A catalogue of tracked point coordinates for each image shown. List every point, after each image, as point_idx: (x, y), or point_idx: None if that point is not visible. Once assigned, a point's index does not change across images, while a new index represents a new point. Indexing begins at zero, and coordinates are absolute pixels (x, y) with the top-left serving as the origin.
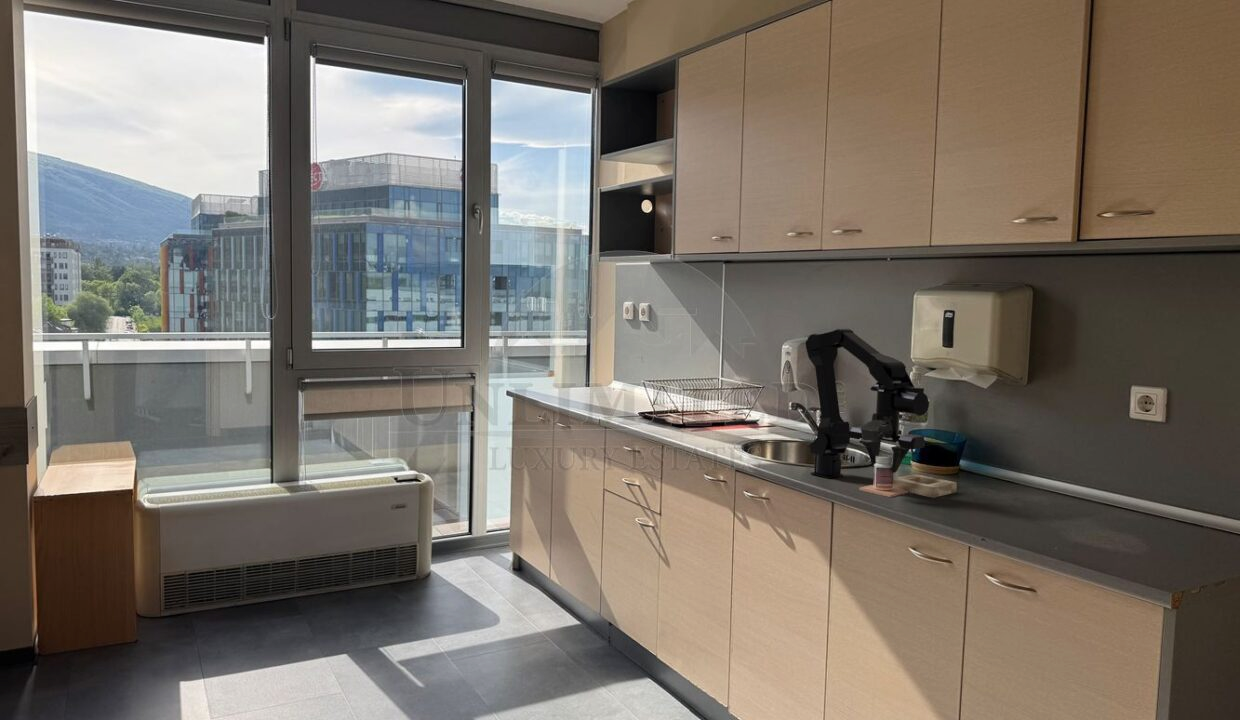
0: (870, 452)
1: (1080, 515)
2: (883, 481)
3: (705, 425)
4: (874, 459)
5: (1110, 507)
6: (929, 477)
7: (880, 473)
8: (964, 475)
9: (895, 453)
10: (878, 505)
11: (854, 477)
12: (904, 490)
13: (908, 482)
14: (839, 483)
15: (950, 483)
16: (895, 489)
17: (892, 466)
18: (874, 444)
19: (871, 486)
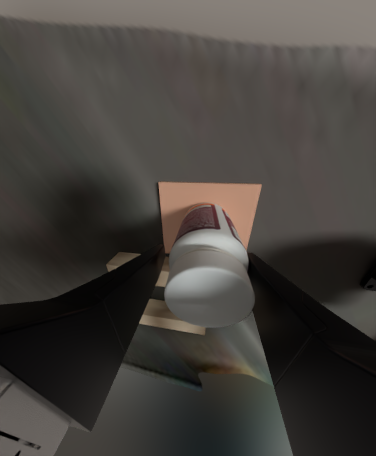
0: (306, 308)
1: (6, 295)
2: (191, 214)
3: None
4: (259, 282)
5: None
6: (171, 326)
7: (199, 220)
8: (188, 372)
9: (79, 301)
10: (105, 32)
11: (323, 291)
12: (169, 249)
13: (165, 271)
14: (345, 209)
15: None
16: None
17: (153, 254)
18: (330, 424)
19: (241, 226)
